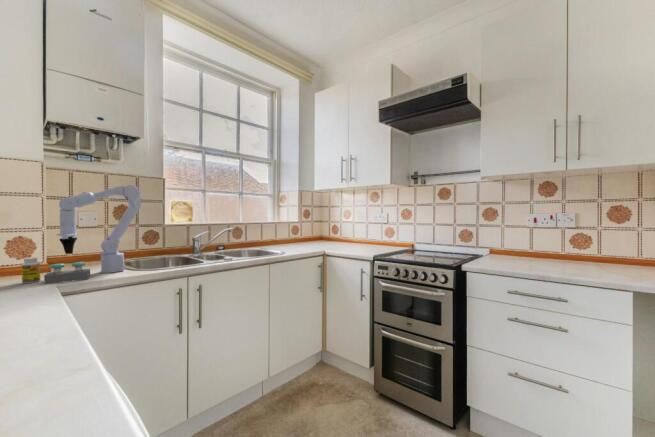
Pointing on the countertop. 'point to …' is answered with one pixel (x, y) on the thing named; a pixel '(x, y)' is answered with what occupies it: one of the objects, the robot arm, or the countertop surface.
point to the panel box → (66, 276)
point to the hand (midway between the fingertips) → (68, 253)
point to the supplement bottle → (30, 270)
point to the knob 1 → (57, 267)
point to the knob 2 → (78, 266)
